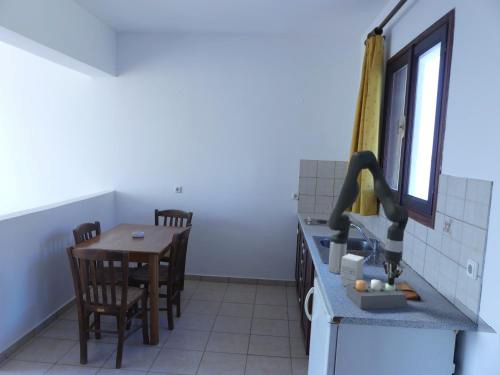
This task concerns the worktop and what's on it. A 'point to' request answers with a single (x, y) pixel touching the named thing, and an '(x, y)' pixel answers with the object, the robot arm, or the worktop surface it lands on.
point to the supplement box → (351, 269)
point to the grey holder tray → (376, 297)
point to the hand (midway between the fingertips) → (390, 284)
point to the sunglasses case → (408, 291)
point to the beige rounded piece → (361, 285)
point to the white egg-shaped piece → (376, 285)
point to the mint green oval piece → (390, 287)
